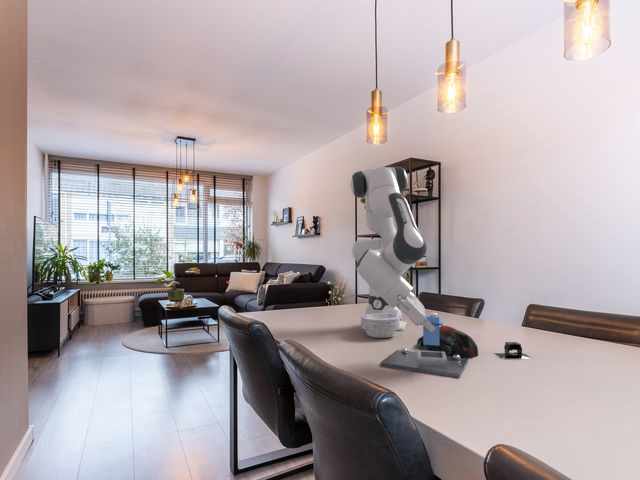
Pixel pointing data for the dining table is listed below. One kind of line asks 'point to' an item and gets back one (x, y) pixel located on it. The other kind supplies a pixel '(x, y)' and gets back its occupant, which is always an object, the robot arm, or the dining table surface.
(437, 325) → the block
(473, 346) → the drone shell
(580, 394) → the dining table surface
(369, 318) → the paper bowls
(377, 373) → the dining table surface
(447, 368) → the plate
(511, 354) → the black block with base
